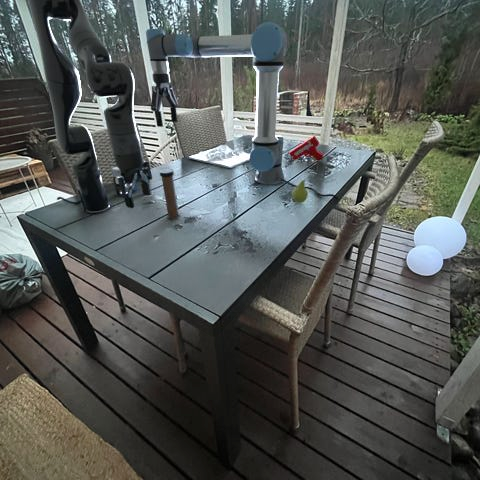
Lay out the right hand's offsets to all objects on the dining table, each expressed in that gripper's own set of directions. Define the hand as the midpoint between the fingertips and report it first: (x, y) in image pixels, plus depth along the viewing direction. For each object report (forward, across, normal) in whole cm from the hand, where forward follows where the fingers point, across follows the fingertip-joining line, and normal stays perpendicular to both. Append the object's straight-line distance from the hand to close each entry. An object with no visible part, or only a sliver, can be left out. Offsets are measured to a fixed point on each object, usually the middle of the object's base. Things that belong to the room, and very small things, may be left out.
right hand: (167, 124), depth 132 cm
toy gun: (+28, -55, +63) cm, 89 cm away
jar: (+28, +39, +21) cm, 52 cm away
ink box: (+28, +22, -15) cm, 38 cm away
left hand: (+11, +60, +24) cm, 66 cm away
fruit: (+28, +10, +68) cm, 74 cm away
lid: (+9, +39, +21) cm, 45 cm away
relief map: (+28, -44, +10) cm, 53 cm away
